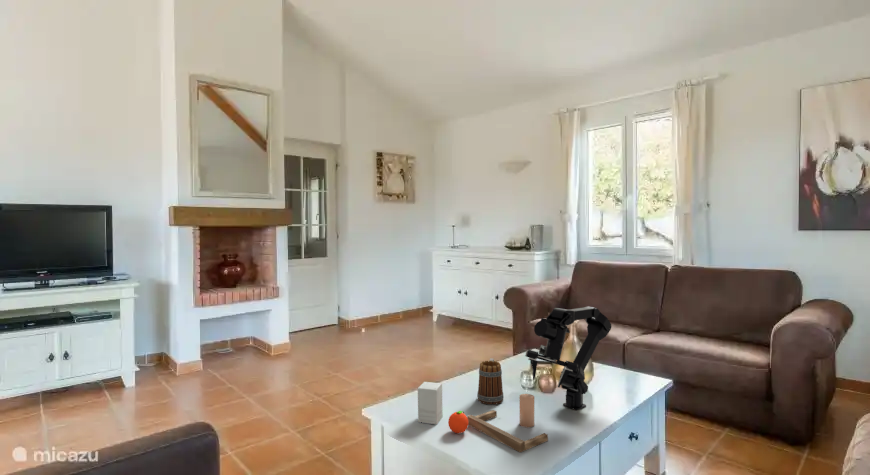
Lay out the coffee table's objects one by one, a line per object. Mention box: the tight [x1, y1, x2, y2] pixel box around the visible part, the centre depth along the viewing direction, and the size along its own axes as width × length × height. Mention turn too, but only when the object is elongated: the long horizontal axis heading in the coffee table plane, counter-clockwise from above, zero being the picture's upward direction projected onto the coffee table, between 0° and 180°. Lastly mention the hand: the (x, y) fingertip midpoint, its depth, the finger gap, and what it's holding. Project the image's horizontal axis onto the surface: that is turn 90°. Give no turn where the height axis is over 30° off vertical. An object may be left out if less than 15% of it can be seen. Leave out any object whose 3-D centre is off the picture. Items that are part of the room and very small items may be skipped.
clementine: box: [448, 410, 469, 434], centre depth 160 cm, size 8×7×7 cm
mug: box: [477, 357, 504, 406], centre depth 191 cm, size 16×11×15 cm
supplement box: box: [417, 381, 444, 425], centre depth 170 cm, size 7×7×13 cm
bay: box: [466, 409, 549, 453], centre depth 160 cm, size 13×26×3 cm, turn 36°
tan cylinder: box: [519, 393, 535, 428], centre depth 166 cm, size 5×5×10 cm
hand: (545, 383), depth 172 cm, fingers open, 9 cm apart
